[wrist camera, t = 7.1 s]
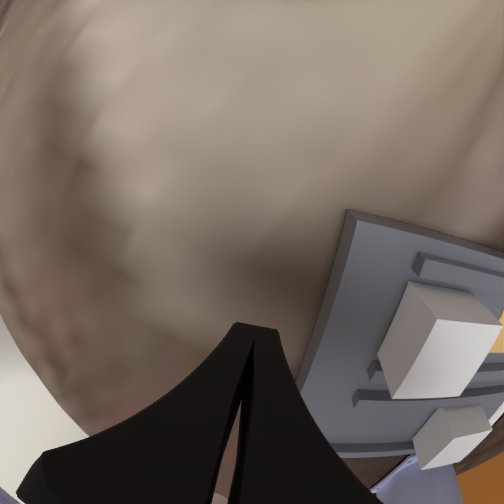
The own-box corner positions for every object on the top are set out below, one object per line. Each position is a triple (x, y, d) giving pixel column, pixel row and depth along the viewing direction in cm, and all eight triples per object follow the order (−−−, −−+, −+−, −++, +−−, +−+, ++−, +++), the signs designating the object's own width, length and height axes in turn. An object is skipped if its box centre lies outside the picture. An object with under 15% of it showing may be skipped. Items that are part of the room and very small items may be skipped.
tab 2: (449, 433, 15) (459, 461, 12) (411, 438, 15) (420, 470, 12) (478, 400, 13) (492, 429, 10) (440, 404, 13) (454, 438, 11)
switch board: (474, 422, 17) (483, 442, 14) (277, 427, 18) (274, 457, 15) (563, 274, 11) (583, 290, 8) (347, 209, 12) (362, 225, 10)
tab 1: (438, 357, 12) (458, 396, 9) (377, 353, 12) (391, 398, 9) (471, 292, 11) (503, 325, 8) (408, 280, 11) (437, 319, 8)
